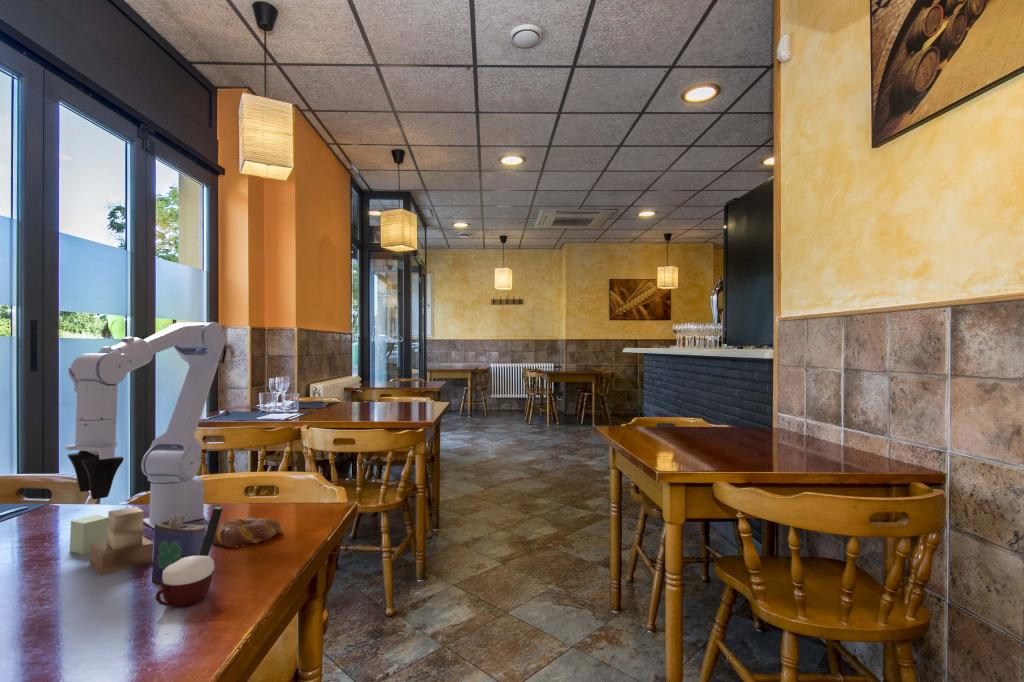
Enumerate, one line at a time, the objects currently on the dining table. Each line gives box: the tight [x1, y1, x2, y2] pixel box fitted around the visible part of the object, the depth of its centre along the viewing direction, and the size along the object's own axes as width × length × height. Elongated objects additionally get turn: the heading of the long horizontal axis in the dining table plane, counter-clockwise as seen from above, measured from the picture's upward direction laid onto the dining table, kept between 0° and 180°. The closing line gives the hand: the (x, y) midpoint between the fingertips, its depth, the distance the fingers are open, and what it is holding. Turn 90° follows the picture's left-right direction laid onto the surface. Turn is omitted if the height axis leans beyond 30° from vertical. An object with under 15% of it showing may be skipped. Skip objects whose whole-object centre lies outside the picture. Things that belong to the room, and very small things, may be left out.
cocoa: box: [155, 506, 223, 608], centre depth 73 cm, size 10×6×12 cm, turn 139°
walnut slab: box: [89, 536, 154, 576], centre depth 86 cm, size 7×7×4 cm
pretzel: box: [212, 516, 282, 548], centre depth 99 cm, size 12×11×4 cm
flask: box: [151, 513, 207, 586], centre depth 79 cm, size 9×3×11 cm, turn 74°
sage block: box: [69, 514, 108, 556], centre depth 92 cm, size 4×4×6 cm
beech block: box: [107, 506, 144, 550], centre depth 87 cm, size 4×4×6 cm
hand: (93, 494), depth 91 cm, fingers open, 7 cm apart
